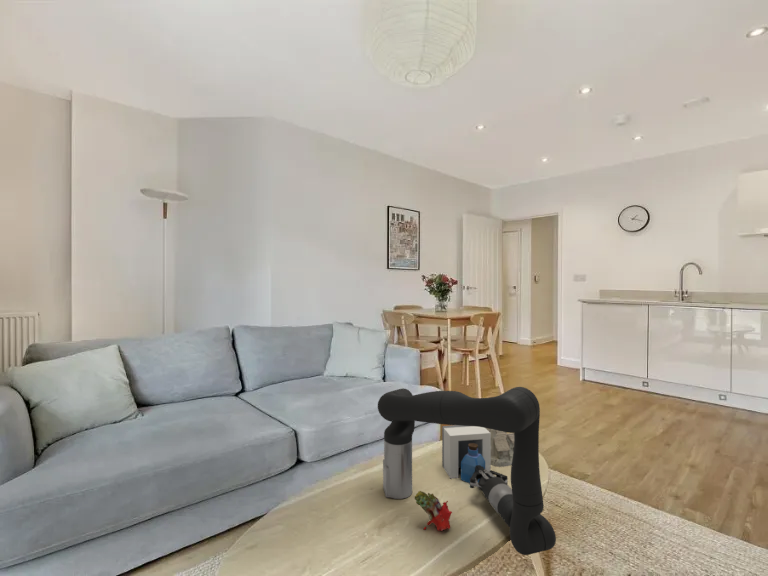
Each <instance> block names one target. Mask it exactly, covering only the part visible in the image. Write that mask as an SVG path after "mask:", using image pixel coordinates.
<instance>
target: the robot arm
mask: <svg viewBox="0 0 768 576" xmlns="http://www.w3.org/2000/svg"><path fill="white" fill-rule="evenodd" d="M377 411H378V414H379V415H380V416H381V417H382V418H383V419H384V420H386V421H388V422H390V423H389V424H388V426H387V427H386V428H385V429H384V432H383V460H382V478H383V479H382V488H383V493H384V496H385V498H391V499H395V500H397V499H398V500H400V499H402V500H403V499H406V498H409V497H410V496H411V495H412V494H413V435H414V432H415V426H416V425H415V424H416V422H420V423H427V424H428V423H429V424H435V425H436V424H438V425H443V426H452V425H461V426H477V427H484V428H488V429H493V430H498V431H502V432H507V434H508V433H514V452H513V459H512V465H510V466H511V467H510V485H511V486H510V485H509V484H508V482H509V481H508V479H509V478H508V476H507V475H506V474H503V473H500V472H497V471H495V470H492V469H491V470H490V472H488V471H487V470H485V469H484V468H483V467H482V466H481V465H476V467H475V472H474V473H473V475H472V477H471V478H470V483H469V487H470V488H471V489H474V488H475V487H476V488H477V489H478V490H479V491H480V492H482V493H483V496H484V498H485V499H486V500H487V502H488V504H490V506H491V507H492V508H493V509H494V511H495V512H496V513H497V514H498V516H500V518H501V519H502V521H504V523H505V524H506V526H507V527H508V528H509V538H510V539H509V540H510V542H511V544H512V546H513V548H514V550H515V551H516V552H517V553H519V554H520V555H523V556H528V555H532V554H537V553H542V552H546V551H548V550H551V549H553V548H554V547H555V545H556V542H557V541H556V540H557V535H556V532H555V530H554V528H553V526H552V524H551V522H549V520H548V519H547V518H546V517H545V516H544V515H542V513H543V511H544V507H545V506H544V498H543V497H544V496H543V489H542V481H541V473H540V456H539V455H540V454H539V449H540V448H539V447H540V446H539V445H540V444H539V443H540V439H539V438H540V437H539V435H540V420H541V419H540V415H541V414H540V413H541V412H540V411H541V409H540V403H539V400H538V397H537V396H536V395H535V394H534V392H533V391H532V390H530V389H528V388H526V387H523V386H515V387H513V388H511V389H509V390H507V391H505V392H503V393H502V394H499V395H496V396H492V397H491V396H490V397H471V396H469V395H467V394H465V393H463V392H460V391H456V390H435V391H430V392H429V391H427V392H422V393H417V394H413V393H412V392H411V390H409V389H407V388H403V387H402V388H399V389H398V388H397V389H395V390H391V391H387V392H385V393H384V394H382V395H381V396H380V397H379V399H378V401H377ZM478 479H479V483H478V482H477V481H478Z"/></svg>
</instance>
